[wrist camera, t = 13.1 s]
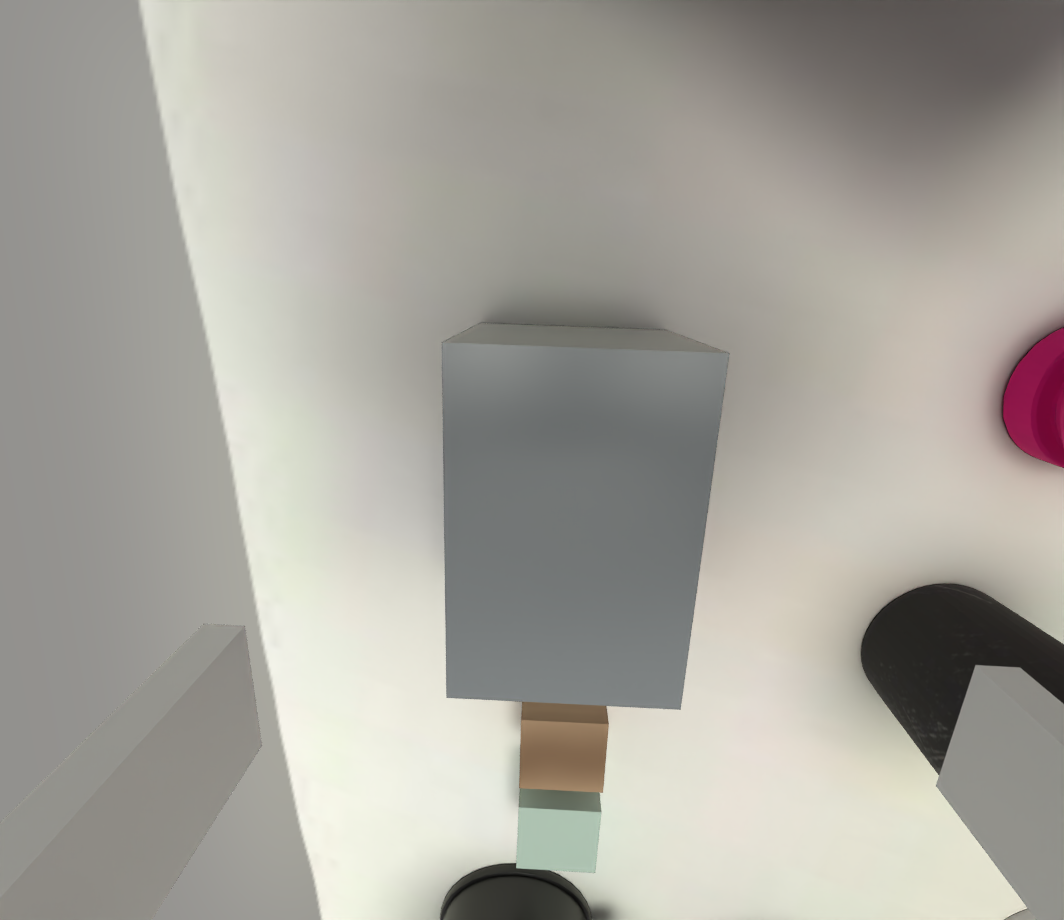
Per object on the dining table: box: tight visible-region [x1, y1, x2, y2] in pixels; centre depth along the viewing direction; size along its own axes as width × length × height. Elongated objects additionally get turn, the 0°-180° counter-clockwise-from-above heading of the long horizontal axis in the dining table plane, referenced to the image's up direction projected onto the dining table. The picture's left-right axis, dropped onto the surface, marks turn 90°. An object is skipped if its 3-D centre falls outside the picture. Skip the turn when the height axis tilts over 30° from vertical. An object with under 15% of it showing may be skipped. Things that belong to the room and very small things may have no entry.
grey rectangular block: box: [442, 323, 729, 710], centre depth 22 cm, size 12×8×9 cm, turn 178°
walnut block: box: [519, 702, 609, 793], centre depth 28 cm, size 4×4×4 cm
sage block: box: [516, 788, 601, 873], centre depth 30 cm, size 4×4×4 cm
